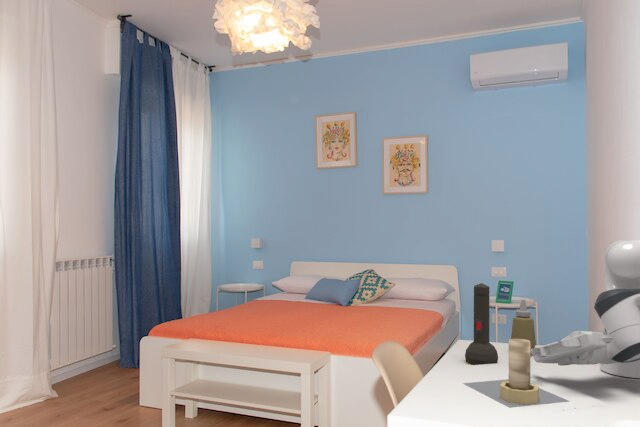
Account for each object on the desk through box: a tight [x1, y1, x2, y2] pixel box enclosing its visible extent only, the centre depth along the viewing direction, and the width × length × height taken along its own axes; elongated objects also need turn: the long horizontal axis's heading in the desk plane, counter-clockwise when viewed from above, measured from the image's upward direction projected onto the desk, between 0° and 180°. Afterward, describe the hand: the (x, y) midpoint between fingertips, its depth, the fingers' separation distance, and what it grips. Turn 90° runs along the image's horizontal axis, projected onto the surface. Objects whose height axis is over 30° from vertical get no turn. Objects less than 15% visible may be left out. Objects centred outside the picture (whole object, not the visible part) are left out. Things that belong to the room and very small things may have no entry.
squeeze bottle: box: [510, 299, 537, 356], centre depth 184 cm, size 8×8×18 cm
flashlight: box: [464, 282, 499, 366], centre depth 172 cm, size 10×25×10 cm
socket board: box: [462, 378, 569, 408], centre depth 138 cm, size 17×20×4 cm
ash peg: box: [508, 338, 531, 390], centre depth 133 cm, size 5×5×14 cm
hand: (546, 347), depth 142 cm, fingers open, 8 cm apart
